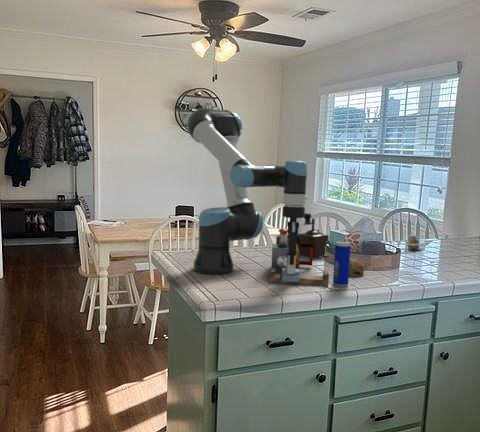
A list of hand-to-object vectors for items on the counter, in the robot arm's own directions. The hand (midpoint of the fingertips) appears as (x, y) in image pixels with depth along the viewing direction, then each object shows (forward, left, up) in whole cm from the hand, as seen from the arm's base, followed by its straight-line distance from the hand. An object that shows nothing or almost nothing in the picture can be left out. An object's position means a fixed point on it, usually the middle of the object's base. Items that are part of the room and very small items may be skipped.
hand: (290, 271), depth 169 cm
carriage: (0, 0, -4) cm, 4 cm away
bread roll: (+23, +17, -4) cm, 29 cm away
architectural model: (+62, +74, -4) cm, 96 cm away
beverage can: (+18, 0, -4) cm, 18 cm away
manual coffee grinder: (+9, +51, -4) cm, 52 cm away
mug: (+1, +24, -4) cm, 24 cm away
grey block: (-3, +13, -4) cm, 14 cm away
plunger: (-3, +13, +6) cm, 15 cm away
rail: (+3, 0, -4) cm, 5 cm away
